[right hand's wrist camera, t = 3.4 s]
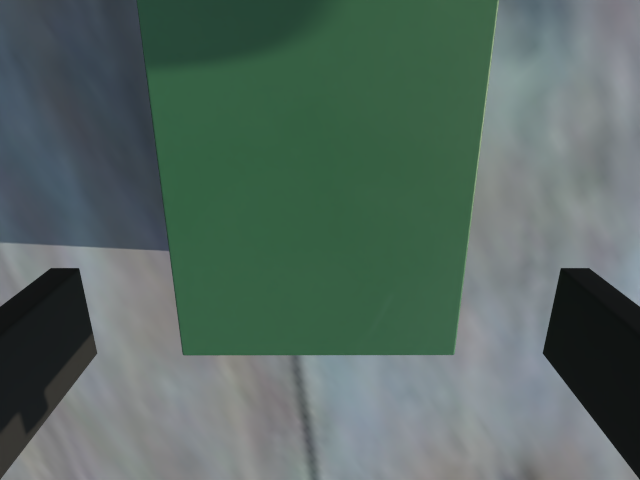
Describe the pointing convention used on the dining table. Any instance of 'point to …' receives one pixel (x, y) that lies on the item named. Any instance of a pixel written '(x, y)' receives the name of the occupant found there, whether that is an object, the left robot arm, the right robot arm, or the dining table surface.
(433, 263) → the cabinet
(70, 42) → the dining table surface
